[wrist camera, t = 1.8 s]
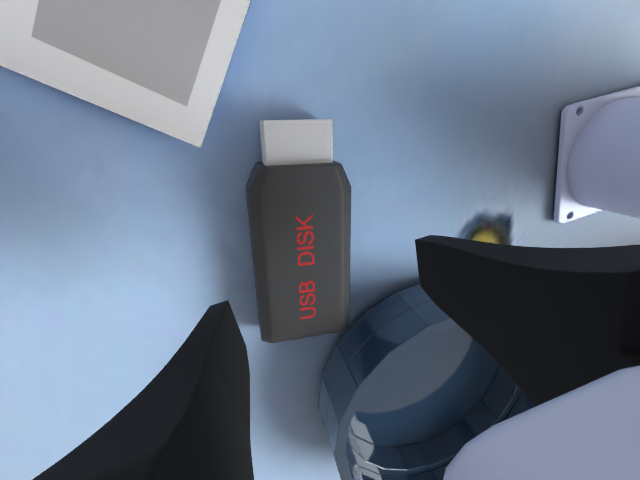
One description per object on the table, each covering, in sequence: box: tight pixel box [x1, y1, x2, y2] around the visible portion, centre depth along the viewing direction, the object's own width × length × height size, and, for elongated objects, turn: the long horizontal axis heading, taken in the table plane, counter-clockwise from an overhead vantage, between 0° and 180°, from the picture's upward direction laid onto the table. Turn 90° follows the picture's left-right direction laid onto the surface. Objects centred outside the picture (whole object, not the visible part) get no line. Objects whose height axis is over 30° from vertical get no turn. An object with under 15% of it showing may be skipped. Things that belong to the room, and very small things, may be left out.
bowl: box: [319, 284, 535, 480], centre depth 23 cm, size 16×16×4 cm
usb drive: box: [246, 119, 351, 343], centre depth 17 cm, size 5×12×3 cm, turn 2°
